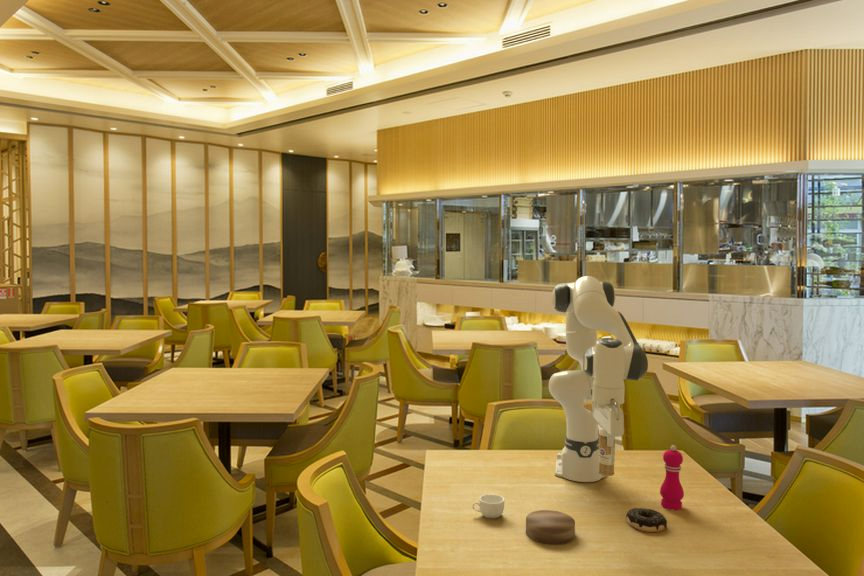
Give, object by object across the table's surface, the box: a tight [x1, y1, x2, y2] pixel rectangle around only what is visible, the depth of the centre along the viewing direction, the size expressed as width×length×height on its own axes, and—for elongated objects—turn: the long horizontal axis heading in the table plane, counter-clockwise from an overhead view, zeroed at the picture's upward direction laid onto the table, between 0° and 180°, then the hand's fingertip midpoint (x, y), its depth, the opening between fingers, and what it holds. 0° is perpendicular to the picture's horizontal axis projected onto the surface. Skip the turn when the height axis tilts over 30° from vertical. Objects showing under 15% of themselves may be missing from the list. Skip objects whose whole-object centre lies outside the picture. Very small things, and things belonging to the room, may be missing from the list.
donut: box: [625, 507, 668, 533], centre depth 190 cm, size 11×12×4 cm
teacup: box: [472, 493, 506, 520], centre depth 196 cm, size 10×8×5 cm
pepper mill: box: [659, 444, 685, 511], centre depth 204 cm, size 7×7×20 cm
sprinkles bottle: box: [598, 426, 616, 477], centre depth 182 cm, size 5×5×13 cm
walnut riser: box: [525, 509, 576, 546], centre depth 184 cm, size 14×14×4 cm
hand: (607, 442), depth 182 cm, fingers closed on sprinkles bottle, 4 cm apart
